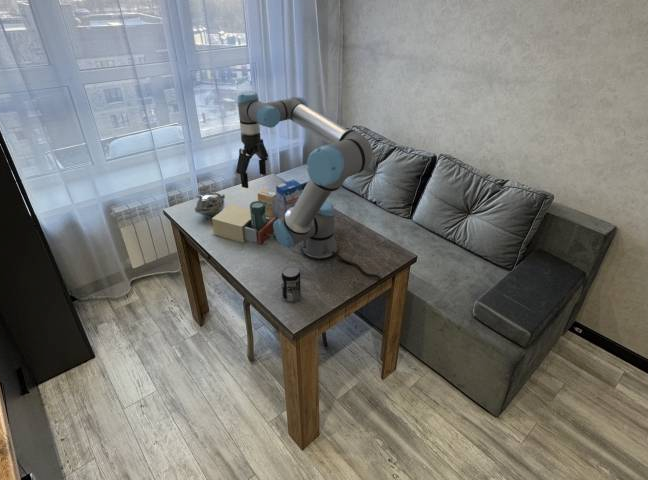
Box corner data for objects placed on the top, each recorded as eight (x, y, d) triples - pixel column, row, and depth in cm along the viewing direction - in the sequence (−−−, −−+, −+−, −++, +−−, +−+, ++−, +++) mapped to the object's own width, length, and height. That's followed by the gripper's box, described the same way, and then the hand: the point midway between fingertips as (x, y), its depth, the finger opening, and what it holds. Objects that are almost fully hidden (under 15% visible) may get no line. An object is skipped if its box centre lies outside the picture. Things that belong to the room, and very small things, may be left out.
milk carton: (285, 228, 186) (283, 190, 176) (277, 222, 190) (275, 185, 180) (302, 221, 192) (301, 184, 182) (295, 216, 196) (294, 179, 185)
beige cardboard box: (260, 227, 186) (259, 211, 182) (243, 243, 175) (241, 226, 170) (232, 219, 191) (230, 204, 186) (214, 234, 179) (211, 218, 175)
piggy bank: (192, 214, 193) (189, 194, 187) (222, 206, 201) (219, 186, 195) (201, 225, 185) (197, 203, 180) (231, 215, 193) (228, 195, 187)
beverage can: (287, 288, 151) (285, 263, 144) (303, 292, 149) (303, 267, 143) (279, 300, 145) (278, 274, 139) (296, 304, 144) (295, 279, 137)
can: (268, 234, 177) (266, 205, 170) (256, 238, 174) (253, 209, 167) (263, 228, 182) (260, 199, 174) (250, 232, 179) (247, 203, 171)
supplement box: (258, 216, 194) (256, 193, 187) (263, 212, 198) (262, 188, 191) (273, 220, 191) (271, 196, 185) (278, 216, 195) (277, 192, 188)
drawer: (287, 233, 181) (286, 221, 177) (272, 249, 170) (271, 235, 167) (249, 223, 187) (248, 211, 183) (233, 237, 176) (231, 224, 173)
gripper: (259, 121, 167) (262, 167, 178) (223, 140, 147) (229, 191, 158) (274, 124, 165) (277, 170, 176) (240, 144, 145) (245, 195, 156)
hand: (254, 180), depth 167 cm, fingers open, 13 cm apart
